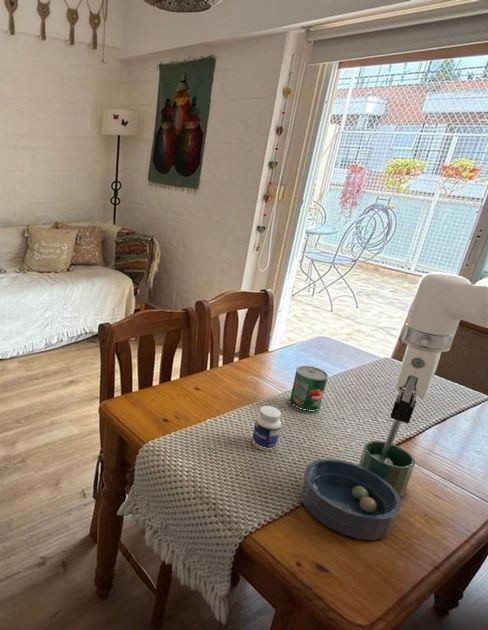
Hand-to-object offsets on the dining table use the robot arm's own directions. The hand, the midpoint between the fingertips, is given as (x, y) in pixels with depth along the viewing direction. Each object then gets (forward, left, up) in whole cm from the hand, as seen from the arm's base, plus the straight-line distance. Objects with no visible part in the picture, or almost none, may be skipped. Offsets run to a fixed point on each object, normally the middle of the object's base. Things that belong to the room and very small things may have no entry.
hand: (400, 416), depth 92 cm
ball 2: (0, +12, -15) cm, 19 cm away
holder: (0, 0, -17) cm, 17 cm away
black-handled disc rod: (+1, 0, -13) cm, 13 cm away
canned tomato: (+22, -22, -18) cm, 36 cm away
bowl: (+4, +14, -17) cm, 23 cm away
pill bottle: (+24, +4, -18) cm, 30 cm away
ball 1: (+2, +10, -15) cm, 18 cm away
